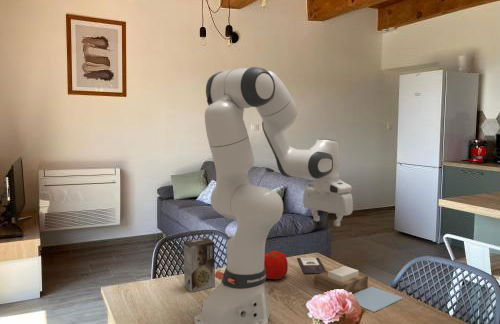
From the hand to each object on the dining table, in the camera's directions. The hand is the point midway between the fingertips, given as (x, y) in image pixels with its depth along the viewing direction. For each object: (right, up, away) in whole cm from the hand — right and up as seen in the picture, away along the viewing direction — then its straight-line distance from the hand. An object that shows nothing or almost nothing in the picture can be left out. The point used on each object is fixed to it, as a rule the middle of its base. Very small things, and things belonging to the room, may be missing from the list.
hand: (326, 223), depth 149 cm
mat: (+12, -23, -13) cm, 29 cm away
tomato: (-19, -21, +6) cm, 29 cm away
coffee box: (-45, -22, -3) cm, 50 cm away
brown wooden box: (+4, -22, -3) cm, 22 cm away
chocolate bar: (-3, -20, +18) cm, 27 cm away
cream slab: (+5, -18, -4) cm, 19 cm away
